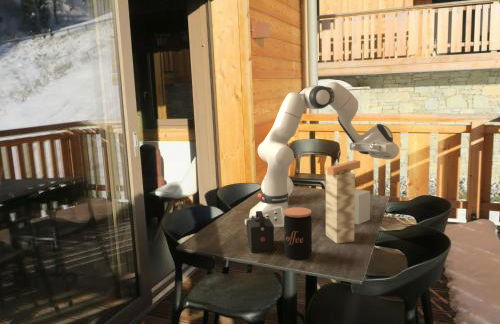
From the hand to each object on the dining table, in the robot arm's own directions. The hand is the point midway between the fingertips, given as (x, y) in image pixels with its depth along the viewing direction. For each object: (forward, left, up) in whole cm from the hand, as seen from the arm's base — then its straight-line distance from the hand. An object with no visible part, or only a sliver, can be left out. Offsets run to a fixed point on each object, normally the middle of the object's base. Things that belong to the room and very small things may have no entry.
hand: (362, 146), depth 209 cm
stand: (-18, -15, -37) cm, 44 cm away
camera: (-53, -13, -37) cm, 66 cm away
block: (-16, -14, -8) cm, 22 cm away
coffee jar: (-42, -27, -37) cm, 62 cm away
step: (0, +5, -37) cm, 37 cm away
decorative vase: (-26, +48, -37) cm, 65 cm away
